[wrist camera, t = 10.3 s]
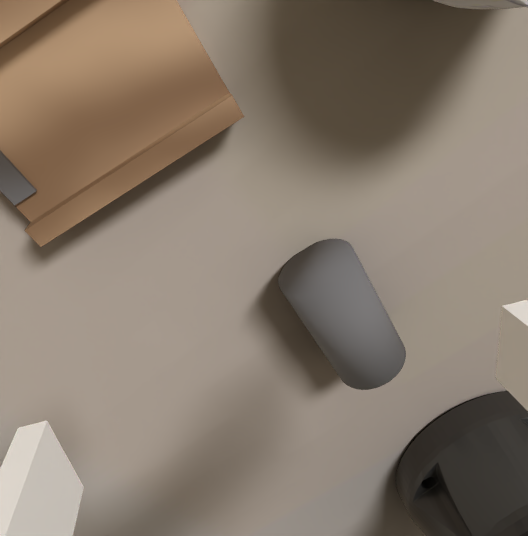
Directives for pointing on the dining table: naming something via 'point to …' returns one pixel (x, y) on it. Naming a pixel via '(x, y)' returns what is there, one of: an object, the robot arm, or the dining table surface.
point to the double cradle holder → (98, 103)
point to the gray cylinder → (343, 313)
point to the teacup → (485, 4)
